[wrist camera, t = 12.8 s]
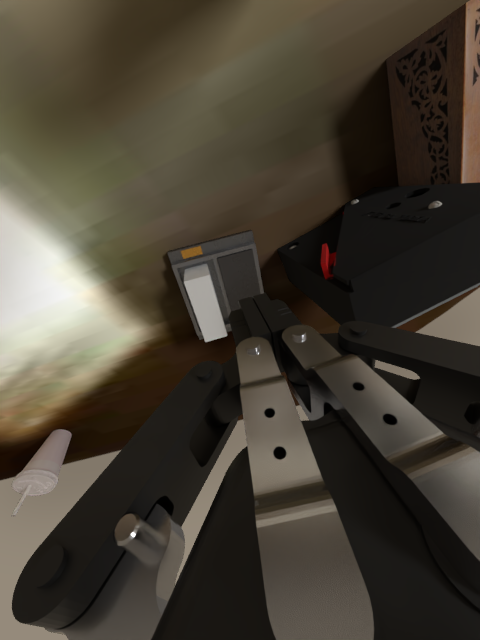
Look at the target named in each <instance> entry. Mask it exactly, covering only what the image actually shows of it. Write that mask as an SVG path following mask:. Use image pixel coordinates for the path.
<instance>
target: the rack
mask: <svg viewBox="0 0 480 640" xmlns="http://www.w3.org/2000/svg"><path fill="white" fill-rule="evenodd" d="M167 253H168V256H169V259H170V261H171V264H172V265H171V266H172V269H173V271H174V274H175V277H176V279H177V282H178V285H179V287H180V290H181V293H182V296H183V298H184V301H185V304H186V306H187V309H188V312H189V314H190V317H191V320H192V322H193V325H194V328H195V330H196V333H197V336H198V337H199V340H201V339H204V337H203V334H202V331H201V329H200V326H199V323H198V320H197V317H196V315H195V312H194V309H193V306H192V304H191V301H190V298H189V295H188V292H187V290H186V287H185V284H184V273H185V269H188V268H191V267H195V266H199V265H202V264H206V263H207V265H208V269H209V272H210V276H211V279H212V282H213V286H214V289H215V293H216V296H217V299H218V303H219V306H220V310H221V313H222V317H223V320H224V324H225V328H226V332H229V331H232V329H231V325H230V322H229V318H228V317H229V315H230V312H231V311H235V310H239V309H240V308H239V304H238V300H241V299H244V298H248V297H252V296H255V295H259V294H263V293H264V290H263V285H262V279H261V273H260V268H259V262H258V256H257V250H256V245H255V243H254V239H253V233H252V230H247V231H244V232H240V233H236V234H232V235H228V236H224V237H221V238H217V239H213V240H209V241H205V242H201V243H198V244H194V245H190V246H186V247H182V248H178V249H175V250H171V251H168V252H167Z"/></svg>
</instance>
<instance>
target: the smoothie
mask: <svg viewBox="0 0 480 640" xmlns="http://www.w3.org/2000/svg"><path fill="white" fill-rule="evenodd" d="M71 436H72V435H71V433H70V432H69V431H67V430H63V429H58V430H55V431H53V432H52V433H51V434H50V436H49V437H48V438H47V439H46V441H45V442H44V443H43V445H42V446H41V447H40V448H39V450H38V451H37V452H36V454H35V455H34V456H33V458H32V459H31V460H30V461H29V463H28V464H27V465H26V467H25V468H24V469H23V471H22V472H20V473H19V474H18V475H16V477H15V479H14V481H13V482H12V488H13V489H14V490H15V491H16V492H18V493H20V494H23V495H22V497H21V499H20V501H19V502H18V504H17V506H16V508H15V510H14V511H13V513H12V515H11V516H15V515H16V513H17V512H18V510H19V508H20V507H21V505H22V503H23V501H24V499H25V497H26V496H27V495H29V496H38V495H44V494H46V493H49V492H51V491H52V490H53V489H54V488H55V486H56V484H57V483H58V474H59V471H60V468H61V466H62V463H63V460H64V457H65V454H66V451H67V448H68V445H69V442H70V439H71Z"/></svg>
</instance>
